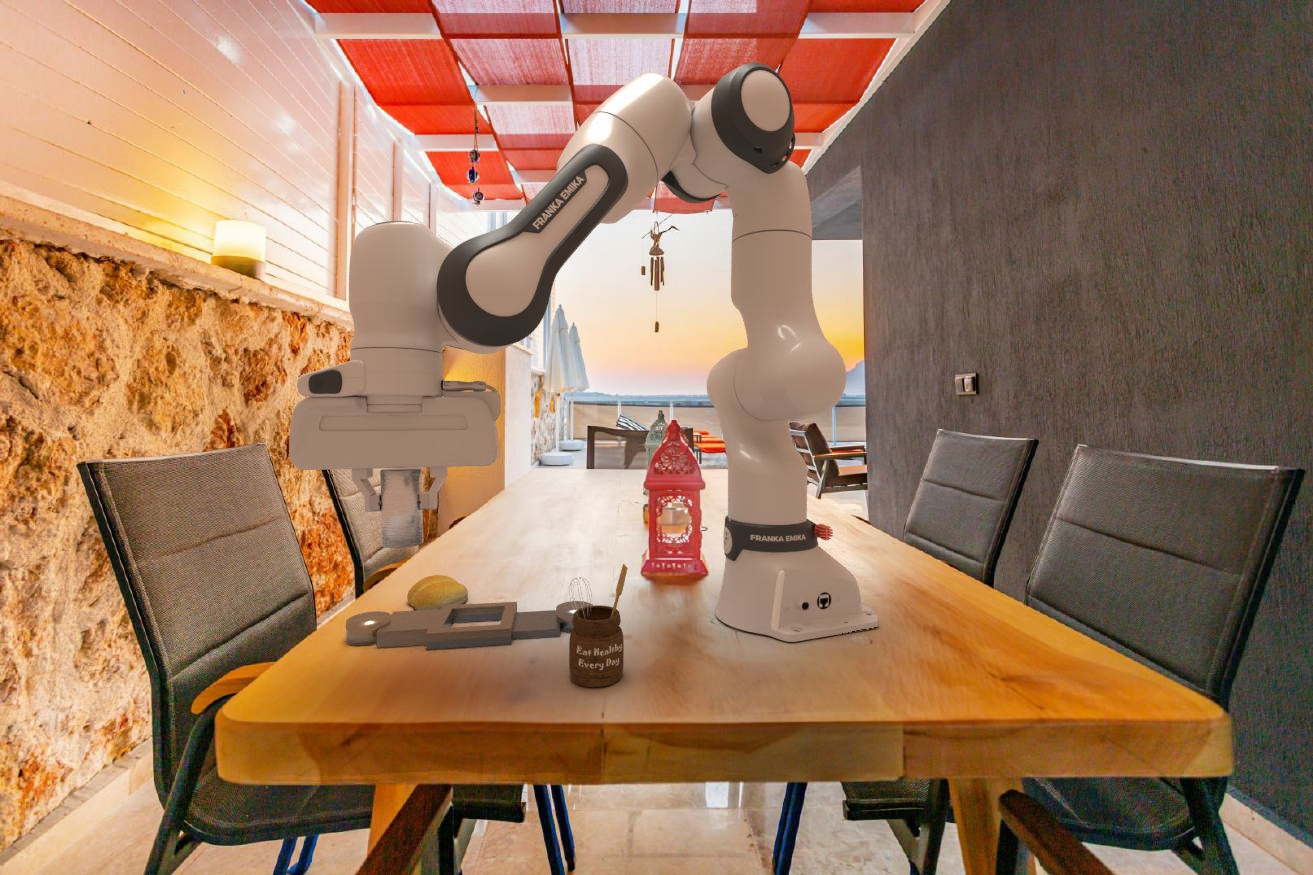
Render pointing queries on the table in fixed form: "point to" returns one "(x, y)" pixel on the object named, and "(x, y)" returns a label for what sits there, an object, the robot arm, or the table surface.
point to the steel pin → (401, 507)
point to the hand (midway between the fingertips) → (402, 510)
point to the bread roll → (436, 593)
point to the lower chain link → (517, 626)
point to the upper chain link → (426, 625)
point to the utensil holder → (597, 642)
